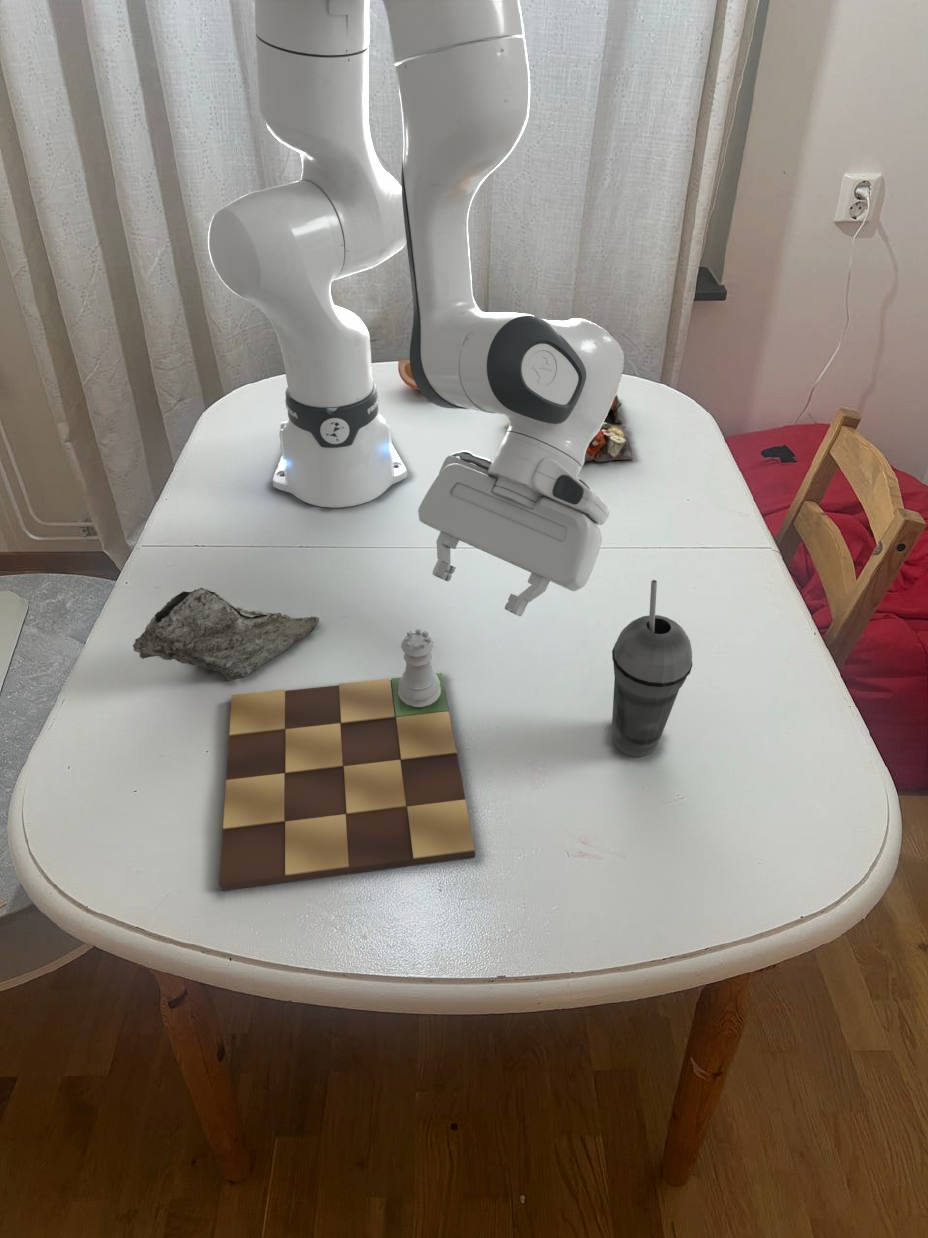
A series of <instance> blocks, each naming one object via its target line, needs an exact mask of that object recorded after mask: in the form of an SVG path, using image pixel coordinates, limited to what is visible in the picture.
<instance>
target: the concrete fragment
mask: <svg viewBox="0 0 928 1238" xmlns="http://www.w3.org/2000/svg"><path fill="white" fill-rule="evenodd" d="M153 615H154V616H153V617H152V618H150V621H149V623H148V624H147V625H146V626H145V629H144V631H143V633H142V634H141V635H140V636H139V637H138V638H135V640H134V643H133V644H132V647H133V651H134V652H135V653H138V656H139V658H141V659H142V660H143V659H148V658H154V657H158V658H161V659H162V660H164V661H173V660H174V661H177V662H179V663H181V664H186V665H191V666H196V667H199V668H202V669H205V670H209V671H216V672H217V673H219V674H221V675H222V676H224V678H225V679H226V680H227V681H233V680H236V679H239V678H244V677H248V676H250V675H251V674H252V673H253V672H254V671H257V670H259V668H261V667H262V666H263V665H264V664H266V663H267V662H269V661H271V660H272V659H273V658H275V657H278V656H279V655H281V654H282V653H284V652H287V650H288V649H289V648H291V647H292V645H293V644H294V643H295V642H297V641H299V640H301V639H302V638H305V637H307V636H308V635H309V634H310V633H311V632H313V630H314V628H316V626H317V625H318V623H319V622H320V619H319V617H318V616H308V617H307V616H305V617H293V618H292V617H290V616H289V615H287V614H286V613H285V614H282V613H281V612H270V611H261V610H252V611H251V610H250V611H249V610H246V609H243V608H242V607H238V606H237V607H235V606H234V605H233V604H231V603H230V602H229V601H227V600H226V599H225V598H224V597H222V596H221V595H220V594H219V593H216V592H215V591H211V590H208V589H206V588H203V587H200V588H197V589H194V590H192V591H182V592H180V593H178V594H177V595H174V597H172V598H171V599H170V600H169V601H167V602H166V604H165V605H164V606H162V608H161V609H160V610H159V611H156V613H155V614H153Z"/></svg>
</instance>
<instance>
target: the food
mask: <svg viewBox="0 0 928 1238" xmlns="http://www.w3.org/2000/svg"><path fill="white" fill-rule="evenodd" d="M621 406H622V403H621V402H620V400H619V397H618V391H617V392H616V395H615V398H614V400H613V403H612V405H611V407H610V410H612V415H613V420H614V423H615V424H616V425H615V424H610V423H607V422H604V423H603V425H602V427H601V429H600V431H599V432H598V433H597V435H596V436H595V437H594V438H593V439H592V440H591V442H590V444H589V445H588V448H587V450H586V454H585V460H584V464H585V463H586V462H591V461H595V462H597V463H599V462H600V463H601V462H607V461H615V460H622V461H623V460H632V459H633V460H634V456H633V451H632V448H631V444H630V439H629V436H628V432H627V428H626V426H625V425H617V424H623V421H622V417H621V413H620V410H619V409H620V407H621ZM509 426H510V421H509V422H507V423H506V424H505V425H504V428H507V429H508V428H509Z"/></svg>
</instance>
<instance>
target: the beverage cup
mask: <svg viewBox="0 0 928 1238" xmlns="http://www.w3.org/2000/svg"><path fill="white" fill-rule="evenodd" d="M657 589H658V581H657V580H656V579H651V581H650V597H649V600H650V601H649V614H648V615H643V616H641V617H639V618H636V619H634V620H632V621H631V622H630V623H628V624H627V625H626V626H625V627H624V628H623V629H622V630H621V631H620V633H619V635H618V637H617V639H616V641H615V643H614V645H613V648H612V651H611V655H612V656H611V659H612V662H613V663H612V664H613V674H614V683H613V700H612V715H611V716H612V717H611V721H612V722H611V731H612V734H611V740H612V743H613V745H614V747H615V748H616V749H617V750H618V751H619V752H620V753H622V754H624V755H627V756H629V757H632V758H642V757H643V758H644V757H647V756H649V755H651V754H652V753H653V752H655V750H656V749H657V746H658V744H659V741H660V740H661V738H662V735H663V732H664V730H665V728H666V725H667V722H668V719H669V718H670V714H671V712H672V709H673V707H674V705H675V702H676V699H677V696H678V694H679V691H680V689H681V688H682V687H683V685H684V683H685V681H686V680H687V677H688V676H689V675H690V674H691V671H692V668H693V651H692V645H691V640H690V638H689V636H688V634H687V633H686V631H685V629H684V628H683V627H682V626H680V625H679V624H678V623H677V622H676V621H675V620H673V619H671V618H668V617H667V616H662V615H659V614H658V615H657V614H656V605H657Z"/></svg>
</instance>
